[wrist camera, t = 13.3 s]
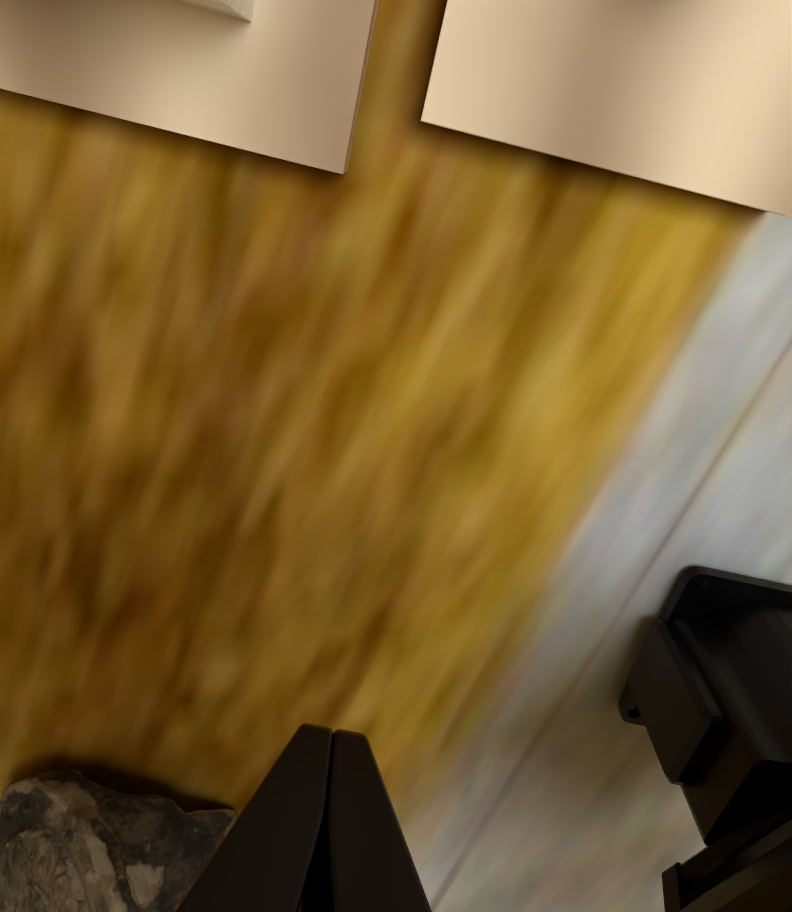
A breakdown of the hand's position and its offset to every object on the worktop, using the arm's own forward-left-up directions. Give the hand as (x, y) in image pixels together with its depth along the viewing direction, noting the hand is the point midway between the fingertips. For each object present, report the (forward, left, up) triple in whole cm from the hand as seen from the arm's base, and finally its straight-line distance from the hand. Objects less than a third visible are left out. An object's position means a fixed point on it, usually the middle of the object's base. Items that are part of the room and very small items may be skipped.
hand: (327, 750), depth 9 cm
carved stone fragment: (+6, +21, -12) cm, 25 cm away
